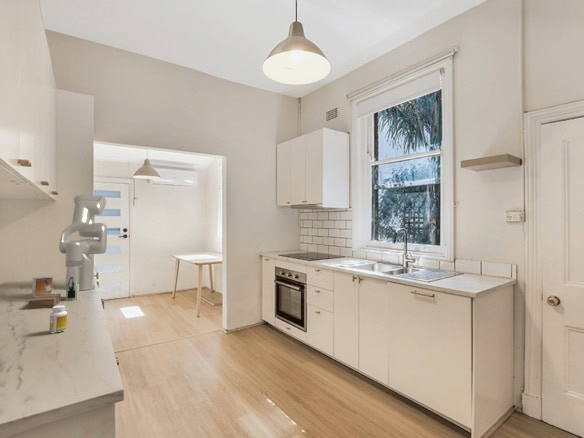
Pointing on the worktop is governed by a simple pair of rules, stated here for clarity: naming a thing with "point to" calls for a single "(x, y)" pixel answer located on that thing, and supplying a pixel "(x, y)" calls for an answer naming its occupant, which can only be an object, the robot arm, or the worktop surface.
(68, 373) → the worktop surface
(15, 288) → the worktop surface
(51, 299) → the walnut base
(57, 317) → the supplement bottle
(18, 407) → the worktop surface
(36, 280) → the small box
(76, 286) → the sage block
